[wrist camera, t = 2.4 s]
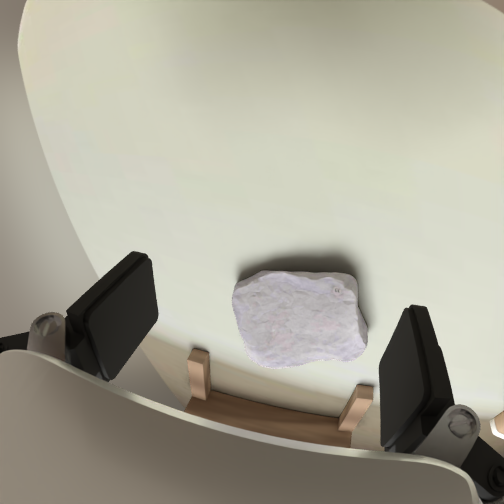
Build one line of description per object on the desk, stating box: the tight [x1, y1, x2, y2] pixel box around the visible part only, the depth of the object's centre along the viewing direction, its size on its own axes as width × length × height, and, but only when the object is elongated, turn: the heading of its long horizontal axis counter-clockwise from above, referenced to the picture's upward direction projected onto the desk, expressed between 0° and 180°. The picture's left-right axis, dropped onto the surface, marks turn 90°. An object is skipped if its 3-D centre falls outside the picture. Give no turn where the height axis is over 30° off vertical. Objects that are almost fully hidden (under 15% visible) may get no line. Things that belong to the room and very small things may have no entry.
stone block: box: [232, 270, 368, 369], centre depth 28 cm, size 12×5×10 cm
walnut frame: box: [184, 349, 373, 448], centre depth 34 cm, size 10×22×5 cm, turn 86°
